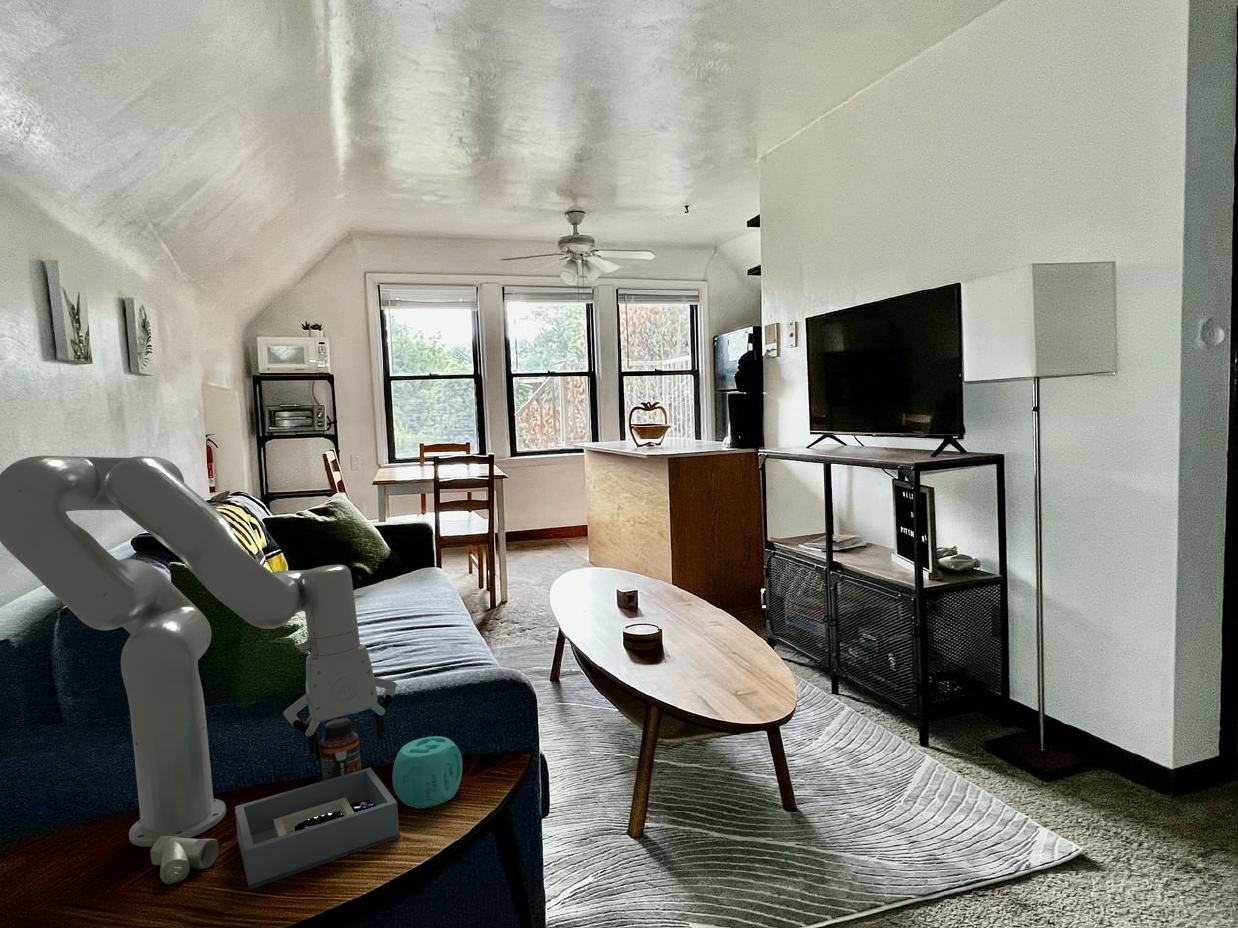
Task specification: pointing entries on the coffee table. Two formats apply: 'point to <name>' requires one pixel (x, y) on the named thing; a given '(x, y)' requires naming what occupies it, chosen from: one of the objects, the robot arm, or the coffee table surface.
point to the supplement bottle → (339, 749)
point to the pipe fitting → (182, 856)
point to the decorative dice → (427, 771)
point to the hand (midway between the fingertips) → (348, 747)
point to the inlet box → (286, 852)
